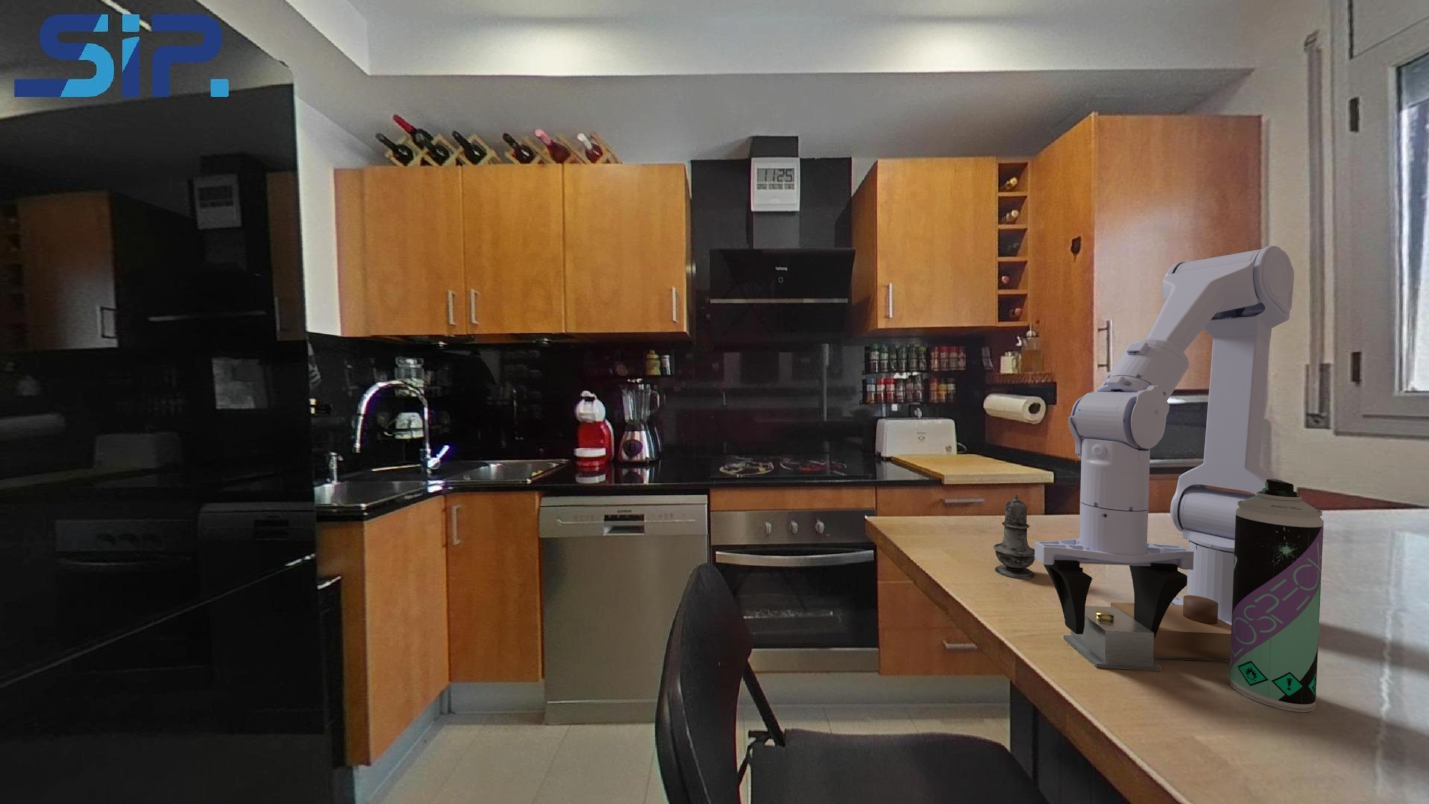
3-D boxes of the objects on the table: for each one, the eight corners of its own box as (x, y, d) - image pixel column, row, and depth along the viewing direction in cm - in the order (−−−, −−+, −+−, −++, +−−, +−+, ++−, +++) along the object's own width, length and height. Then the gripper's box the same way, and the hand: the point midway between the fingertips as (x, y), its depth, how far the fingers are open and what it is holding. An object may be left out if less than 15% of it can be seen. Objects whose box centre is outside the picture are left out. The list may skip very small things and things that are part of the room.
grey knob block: (1114, 637, 58) (1115, 602, 58) (1152, 667, 52) (1154, 628, 52) (1070, 635, 59) (1071, 600, 59) (1104, 664, 53) (1105, 625, 53)
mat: (1120, 641, 58) (1120, 637, 58) (1160, 670, 52) (1160, 667, 52) (1063, 638, 59) (1063, 635, 59) (1096, 667, 53) (1096, 663, 53)
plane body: (1193, 630, 61) (1194, 588, 60) (1247, 663, 54) (1249, 615, 54) (1110, 627, 62) (1111, 585, 61) (1153, 658, 55) (1154, 611, 55)
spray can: (1213, 678, 51) (1220, 475, 50) (1263, 675, 51) (1271, 474, 51) (1278, 714, 46) (1287, 487, 45) (1334, 710, 46) (1344, 485, 45)
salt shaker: (1044, 581, 76) (1045, 499, 75) (1000, 578, 77) (1001, 497, 77) (1028, 567, 82) (1030, 491, 81) (987, 564, 83) (989, 489, 82)
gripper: (1159, 498, 58) (1155, 617, 59) (1022, 495, 60) (1019, 611, 60) (1212, 514, 51) (1207, 649, 52) (1055, 510, 53) (1052, 642, 53)
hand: (1109, 631), depth 56 cm, fingers open, 6 cm apart
